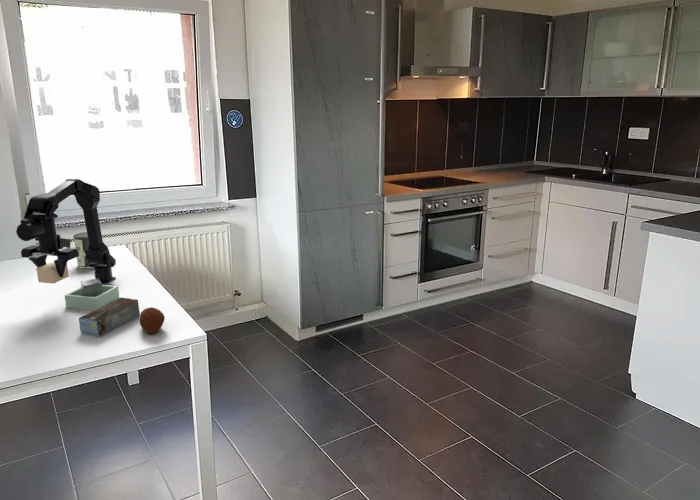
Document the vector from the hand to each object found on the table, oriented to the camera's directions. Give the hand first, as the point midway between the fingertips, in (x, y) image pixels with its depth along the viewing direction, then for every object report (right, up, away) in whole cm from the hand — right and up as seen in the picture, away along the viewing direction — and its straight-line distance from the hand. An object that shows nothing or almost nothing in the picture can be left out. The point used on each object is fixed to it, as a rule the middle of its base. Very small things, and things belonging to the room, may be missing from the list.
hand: (53, 276), depth 186 cm
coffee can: (-12, +2, +51) cm, 52 cm away
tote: (+10, -10, +8) cm, 16 cm away
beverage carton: (+25, -16, -10) cm, 31 cm away
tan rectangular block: (0, -1, 0) cm, 1 cm away
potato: (+40, -17, -14) cm, 46 cm away
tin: (+10, -9, +8) cm, 16 cm away
